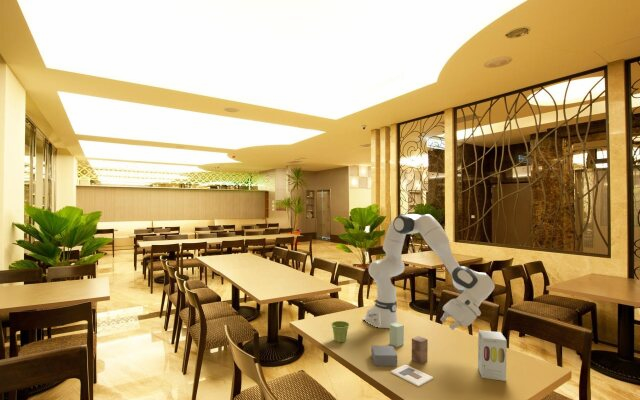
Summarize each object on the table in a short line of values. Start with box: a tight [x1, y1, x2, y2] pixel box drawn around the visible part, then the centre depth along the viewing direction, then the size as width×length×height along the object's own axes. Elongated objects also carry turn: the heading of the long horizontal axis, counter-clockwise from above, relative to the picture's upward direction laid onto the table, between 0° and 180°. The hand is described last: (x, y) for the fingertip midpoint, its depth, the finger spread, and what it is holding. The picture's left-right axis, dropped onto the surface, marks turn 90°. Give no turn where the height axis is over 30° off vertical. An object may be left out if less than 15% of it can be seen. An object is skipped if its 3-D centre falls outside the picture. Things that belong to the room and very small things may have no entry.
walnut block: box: [411, 335, 429, 365], centre depth 153 cm, size 5×5×10 cm
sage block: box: [389, 322, 405, 348], centre depth 171 cm, size 5×5×10 cm
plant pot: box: [330, 320, 350, 343], centre depth 175 cm, size 9×9×9 cm
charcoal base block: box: [370, 345, 398, 367], centre depth 153 cm, size 10×10×5 cm
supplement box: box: [477, 329, 508, 382], centre depth 142 cm, size 10×9×17 cm
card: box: [390, 364, 434, 387], centre depth 140 cm, size 14×10×1 cm
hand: (446, 324), depth 154 cm, fingers open, 8 cm apart
